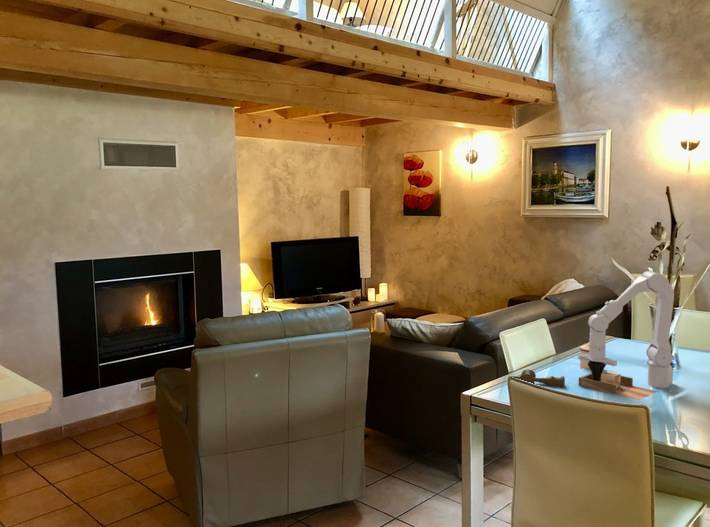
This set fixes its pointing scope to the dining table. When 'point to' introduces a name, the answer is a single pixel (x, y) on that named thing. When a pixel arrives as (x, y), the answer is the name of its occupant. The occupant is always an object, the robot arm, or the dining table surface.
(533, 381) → the kendama
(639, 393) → the brown wooden tray
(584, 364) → the teacup with lid
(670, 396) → the dining table surface
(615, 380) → the maple block
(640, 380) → the dining table surface
